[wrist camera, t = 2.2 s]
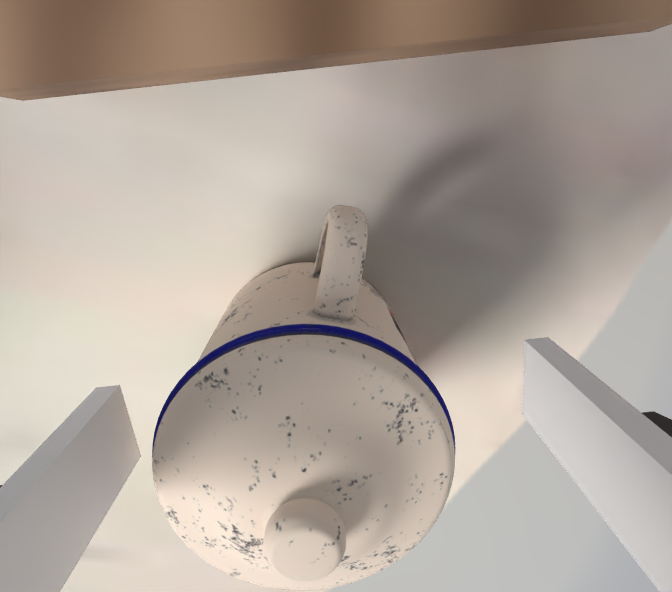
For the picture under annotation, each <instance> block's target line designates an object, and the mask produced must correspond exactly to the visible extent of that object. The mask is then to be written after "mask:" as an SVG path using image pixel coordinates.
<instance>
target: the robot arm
mask: <svg viewBox="0 0 672 592" xmlns="http://www.w3.org/2000/svg"><path fill="white" fill-rule="evenodd" d="M522 414H523V415H524V417H525V418H526V419H527V421H528V422H529V423H530V424H531V426H532V427H533V428H534V430H535V431H536V432H537V433H538V435H539V436H540V437H541V439H542V440H543V441H544V442H545V443H546V445H547V446H548V448H549V449H550V450H551V452H552V453H553V454H554V455H555V457H556V458H557V459H558V461H559V462H560V463H561V464H562V466H563V467H564V468H565V470H566V471H567V472H568V474H569V475H570V476H571V478H572V479H573V480H574V481H575V483H576V484H577V485H578V486H579V488H580V489H581V490H582V492H583V493H584V494H585V496H586V497H587V498H588V500H589V501H590V502H591V503H592V505H593V506H594V507H595V509H596V510H597V511H598V512H599V514H600V515H601V516H602V518H603V519H604V520H605V522H606V523H607V524H608V525H609V527H610V528H611V529H612V531H613V532H614V533H615V535H616V536H617V537H618V538H619V540H620V541H621V542H622V543H623V545H624V546H625V547H626V549H627V550H628V551H629V553H630V554H631V555H632V557H633V558H634V559H635V560H636V562H637V563H638V564H639V566H640V567H641V568H642V569H643V571H644V572H645V573H646V575H647V576H648V577H649V579H650V580H651V581H652V582H653V584H654V585H655V586H656V588H657V589H658V590H659V592H672V420H671V419H669V418H667V417H664V416H662V415H660V414H658V413H656V412H645V413H641V412H639V411H638V410H637V409H636V408H635V407H633V406H632V405H631V404H630V403H628V402H627V401H626V400H625V399H623V398H622V397H621V396H620V395H619V394H617V393H616V392H615V391H614V390H612V389H611V388H610V387H609V386H607V385H606V384H605V383H604V382H603V381H601V380H600V379H599V378H598V377H596V376H595V375H594V374H593V373H591V372H590V371H589V370H588V369H587V368H585V367H584V366H583V365H582V364H580V363H579V362H578V361H577V360H575V359H574V358H573V357H572V356H571V355H569V354H568V353H567V352H566V351H564V350H563V349H562V348H561V347H559V346H558V345H557V344H556V343H555V342H553V341H552V340H551V339H550V338H548V337H547V338H538V339H529V340H524V371H523V403H522ZM140 457H141V455H140V451H139V448H138V445H137V441H136V438H135V435H134V431H133V428H132V425H131V421H130V418H129V414H128V411H127V408H126V404H125V401H124V398H123V394H122V391H121V388H120V385H116V386H107V387H98V388H95V390H94V391H93V392H92V393H91V394H90V395H89V396H88V397H87V398H86V399H85V400H84V401H83V402H82V403H81V404H80V405H79V406H78V407H77V408H76V409H75V410H74V411H73V412H72V414H71V415H70V416H69V417H68V418H67V419H66V420H65V421H64V422H63V423H62V424H61V425H60V426H59V427H58V428H57V429H56V430H55V431H54V432H53V433H52V434H51V435H50V436H49V438H48V439H47V440H46V441H45V442H44V443H43V444H42V445H41V446H40V447H39V448H38V449H37V450H36V451H35V452H34V453H33V454H32V455H31V456H30V457H29V458H28V459H27V460H26V461H25V463H24V464H23V465H22V466H21V467H20V468H19V469H18V470H17V471H16V472H15V473H14V474H13V475H12V476H11V477H10V478H9V479H8V480H7V481H6V482H5V483H4V484H3V485H0V592H60V591H61V589H62V588H63V586H64V584H65V582H66V581H67V579H68V577H69V576H70V574H71V572H72V571H73V569H74V567H75V566H76V564H77V562H78V561H79V559H80V557H81V556H82V554H83V552H84V551H85V549H86V547H87V546H88V544H89V542H90V540H91V539H92V537H93V535H94V534H95V532H96V530H97V529H98V527H99V525H100V524H101V522H102V520H103V519H104V517H105V515H106V514H107V512H108V510H109V509H110V507H111V505H112V504H113V502H114V500H115V499H116V497H117V495H118V493H119V492H120V490H121V488H122V487H123V485H124V483H125V482H126V480H127V478H128V477H129V475H130V473H131V472H132V470H133V468H134V467H135V465H136V463H137V462H138V460H139V458H140Z"/></svg>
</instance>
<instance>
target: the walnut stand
mask: <svg viewBox="0 0 672 592" xmlns="http://www.w3.org/2000/svg"><path fill="white" fill-rule="evenodd" d="M669 24H672V0H0V97H5V98H11V99H17V100H32V99H41V98H50V97H60V96H69V95H78V94H87V93H96V92H105V91H114V90H123V89H132V88H141V87H150V86H159V85H168V84H178V83H187V82H196V81H205V80H214V79H223V78H232V77H241V76H250V75H259V74H268V73H277V72H286V71H295V70H305V69H314V68H323V67H332V66H341V65H350V64H359V63H368V62H377V61H386V60H395V59H404V58H413V57H423V56H432V55H441V54H450V53H459V52H468V51H477V50H486V49H495V48H504V47H513V46H522V45H531V44H541V43H550V42H559V41H568V40H577V39H586V38H595V37H604V36H613V35H622V34H631V33H640V32H649V31H653V30H655V29H658V28H661V27H664V26H667V25H669Z"/></svg>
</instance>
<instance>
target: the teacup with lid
mask: <svg viewBox="0 0 672 592" xmlns="http://www.w3.org/2000/svg"><path fill="white" fill-rule="evenodd" d="M367 239H368V225H367V220H366V217H365V215H364V213H363V212H362V211H361V210H359V209H357V208H354V207H349V206H344V205H337V206H335V207H333V208H332V209H331V210H330V211H329V213H328V214H327V217H326V219H325V223H324V226H323V230H322V234H321V238H320V242H319V247H318V252H317V257H316V262H315V263H314V262H303V263H293V264H288V265H284V266H280V267H277V268H274V269H271V270H269V271H267V272H265V273H263V274H261V275H259V276H258V277H256V278H255V279H253V280H252V281H251V282H249V283H248V284H247V285H246V286H244V287H243V288H242V289H241V290H240V291H239V292H238V294H237V295H236V296H235V297H234V298H233V300H232V301H231V303H230V304H229V306H228V307H227V309H226V311H225V313H224V315H223V316H222V318H221V320H220V322H219V324H218V326H217V327H216V329H215V331H214V333H213V335H212V336H211V338H210V340H209V342H208V344H207V346H206V347H205V349H204V351H203V353H202V355H201V356H200V358H199V360H198V362H197V363H196V364H195V365H194V366H193V367H192V368H191V369H190V370H189V371H188V372H187V373H186V374H185V375H184V376H183V377H182V378H181V379H180V381H179V382H178V383H177V385H176V386H175V387H174V389H173V390H172V392H171V393H170V395H169V397H168V399H167V400H166V402H165V404H164V406H163V408H162V411H161V413H160V415H159V418H158V421H157V425H156V428H155V432H154V439H153V451H152V459H153V461H152V469H153V479H154V484H155V488H156V492H157V496H158V499H159V501H160V504H161V507H162V509H163V511H164V513H165V515H166V518H167V519H168V521H169V523H170V524H171V526H172V528H173V529H174V530H175V532H176V533H177V534H178V536H179V537H180V538H181V539H182V540H183V541H184V542H185V544H186V545H187V546H188V547H189V548H190V549H191V550H193V551H194V552H195V553H196V554H197V555H198V556H199V557H201V558H202V559H204V560H205V561H206V562H208V563H209V564H211V565H212V566H214V567H216V568H217V569H219V570H221V571H223V572H225V573H227V574H229V575H231V576H233V577H236V578H238V579H241V580H244V581H247V582H250V583H253V584H257V585H261V586H266V587H271V588H278V589H289V590H312V589H323V588H330V587H336V586H340V585H344V584H348V583H352V582H354V581H358V580H361V579H363V578H366V577H368V576H371V575H373V574H375V573H377V572H379V571H381V570H383V569H385V568H387V567H388V566H390V565H392V564H393V563H395V562H396V561H398V560H399V559H400V558H402V557H403V556H404V555H406V554H407V553H408V552H409V551H411V550H412V549H413V548H414V547H415V546H416V545H417V544H418V543H419V542H420V541H421V540H422V539H423V538H424V537H425V535H426V534H427V533H428V532H429V531H430V529H431V528H432V526H433V525H434V523H435V522H436V520H437V519H438V517H439V515H440V513H441V511H442V509H443V507H444V505H445V502H446V500H447V497H448V495H449V492H450V488H451V485H452V481H453V475H454V466H455V436H454V431H453V425H452V422H451V418H450V415H449V412H448V409H447V407H446V405H445V403H444V400H443V398H442V397H441V395H440V393H439V392H438V390H437V388H436V387H435V385H434V384H433V383H432V381H431V380H430V379H429V377H428V376H427V375H426V374H425V373H424V372H423V371H422V370H421V369H420V368H419V367H418V365H417V364H416V362H415V360H414V358H413V356H412V354H411V351H410V349H409V347H408V345H407V343H406V341H405V339H404V337H403V335H402V333H401V331H400V329H399V327H398V325H397V323H396V321H395V319H394V317H393V314H392V312H391V310H390V309H389V307H388V305H387V303H386V302H385V301H384V299H383V298H382V296H381V295H380V294H379V293H378V292H377V291H376V290H375V289H374V288H373V287H372V286H371V285H370V284H369V283H367V282H366V281H365V280H363V279H362V275H363V269H364V263H365V257H366V249H367Z"/></svg>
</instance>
